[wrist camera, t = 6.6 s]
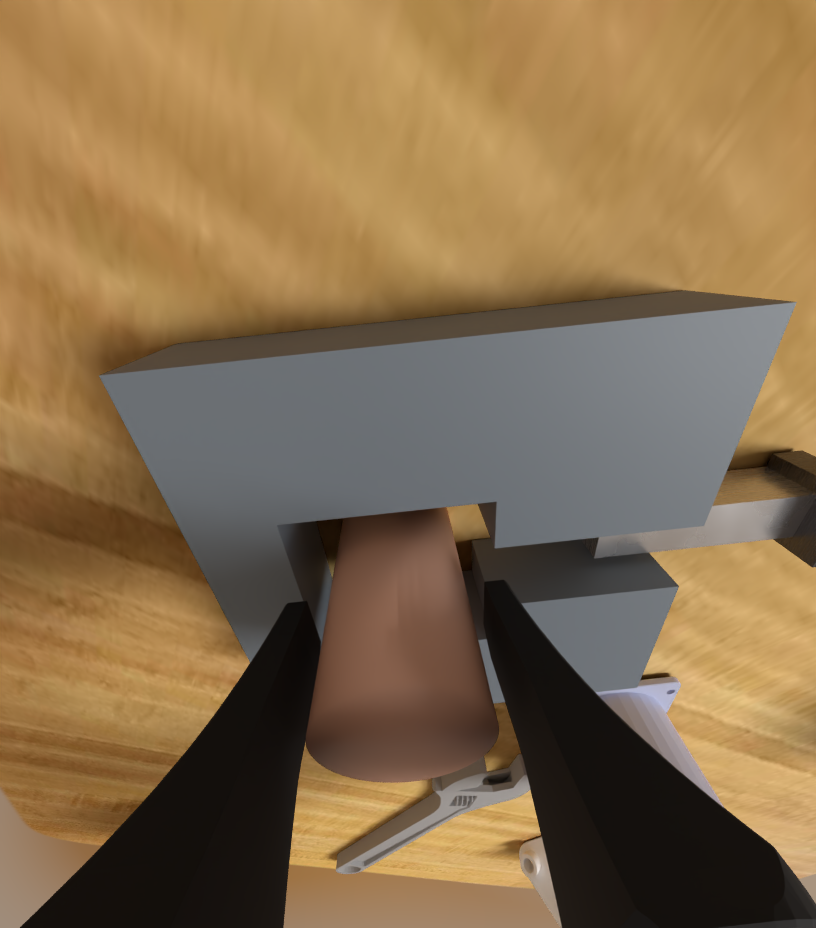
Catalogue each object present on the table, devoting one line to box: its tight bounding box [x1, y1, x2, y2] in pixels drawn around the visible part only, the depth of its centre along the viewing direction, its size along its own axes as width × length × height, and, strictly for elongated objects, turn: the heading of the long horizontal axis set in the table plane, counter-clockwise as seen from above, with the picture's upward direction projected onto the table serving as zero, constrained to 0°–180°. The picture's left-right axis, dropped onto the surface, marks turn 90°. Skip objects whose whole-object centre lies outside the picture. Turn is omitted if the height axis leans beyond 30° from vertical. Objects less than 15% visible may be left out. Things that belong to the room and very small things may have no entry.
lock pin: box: [581, 451, 816, 567], centre depth 14 cm, size 3×9×3 cm, turn 95°
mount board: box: [99, 290, 796, 703], centre depth 14 cm, size 16×16×4 cm
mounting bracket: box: [519, 836, 562, 928], centre depth 33 cm, size 12×6×11 cm, turn 132°
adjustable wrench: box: [336, 754, 530, 874], centre depth 31 cm, size 25×6×2 cm, turn 141°
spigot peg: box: [306, 507, 499, 782], centre depth 12 cm, size 4×4×8 cm
